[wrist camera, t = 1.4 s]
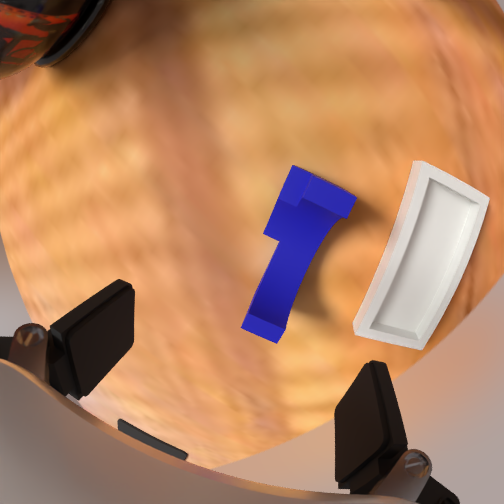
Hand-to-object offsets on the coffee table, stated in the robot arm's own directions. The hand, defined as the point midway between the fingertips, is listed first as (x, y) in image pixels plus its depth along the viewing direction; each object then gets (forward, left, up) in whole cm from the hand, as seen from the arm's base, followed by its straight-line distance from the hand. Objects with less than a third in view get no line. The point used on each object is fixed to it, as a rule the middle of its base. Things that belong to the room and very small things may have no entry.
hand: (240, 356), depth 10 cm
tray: (-3, +13, -15) cm, 20 cm away
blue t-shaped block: (0, +1, -15) cm, 15 cm away
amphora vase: (-24, -34, -15) cm, 44 cm away
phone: (+46, -12, -15) cm, 50 cm away
